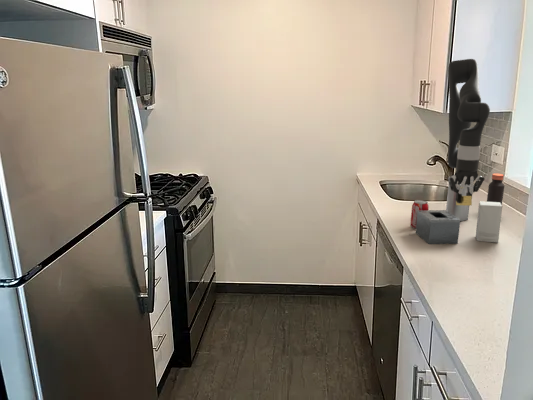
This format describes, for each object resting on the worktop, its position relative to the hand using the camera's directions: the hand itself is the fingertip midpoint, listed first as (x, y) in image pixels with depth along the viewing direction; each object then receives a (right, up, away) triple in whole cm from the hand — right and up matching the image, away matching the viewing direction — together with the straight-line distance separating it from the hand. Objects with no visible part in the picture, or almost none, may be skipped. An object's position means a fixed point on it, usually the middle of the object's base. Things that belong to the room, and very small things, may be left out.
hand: (463, 202), depth 175 cm
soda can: (-7, -12, +31) cm, 34 cm away
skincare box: (+16, -16, +16) cm, 27 cm away
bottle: (+36, -7, +51) cm, 63 cm away
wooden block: (0, -1, 0) cm, 1 cm away
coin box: (-4, -15, +17) cm, 23 cm away
